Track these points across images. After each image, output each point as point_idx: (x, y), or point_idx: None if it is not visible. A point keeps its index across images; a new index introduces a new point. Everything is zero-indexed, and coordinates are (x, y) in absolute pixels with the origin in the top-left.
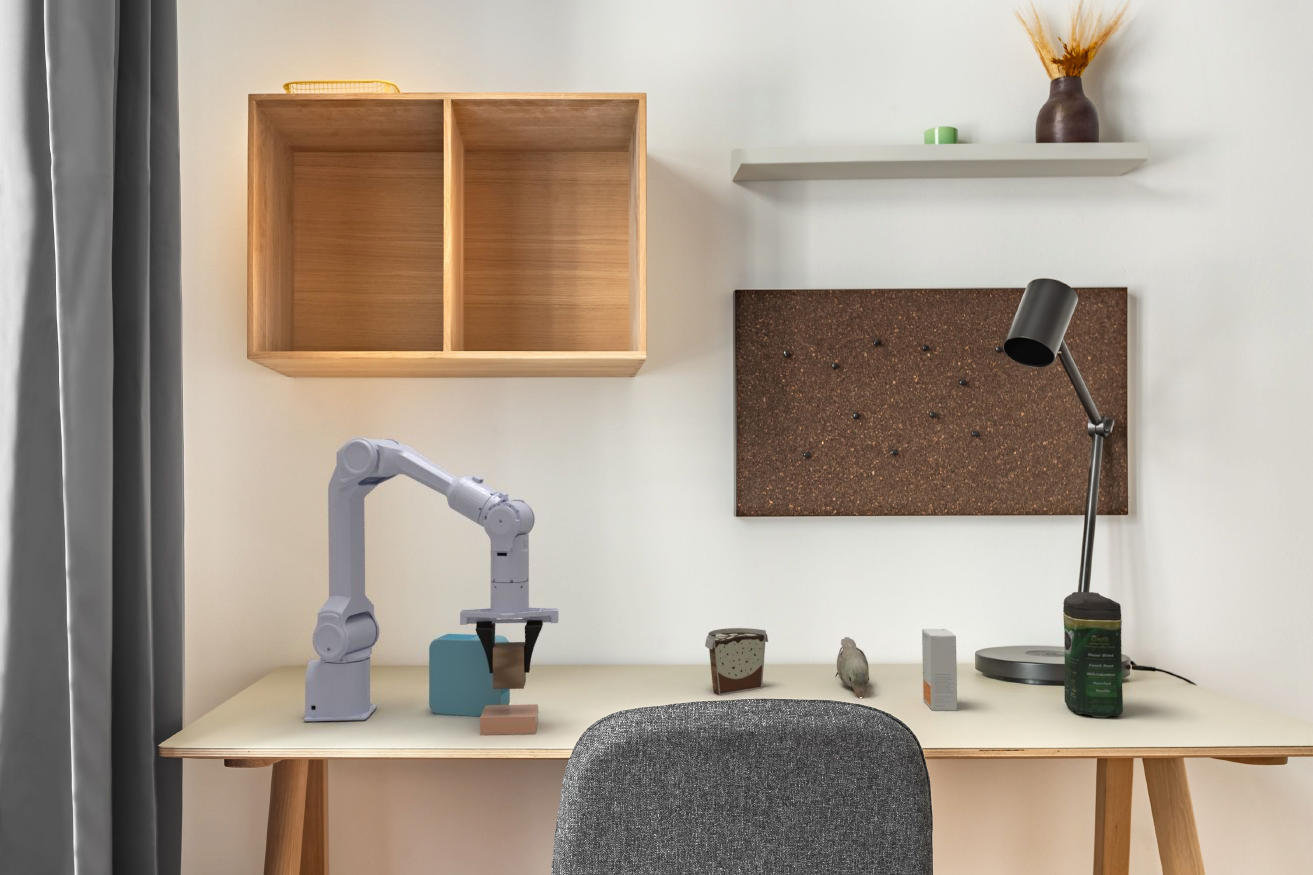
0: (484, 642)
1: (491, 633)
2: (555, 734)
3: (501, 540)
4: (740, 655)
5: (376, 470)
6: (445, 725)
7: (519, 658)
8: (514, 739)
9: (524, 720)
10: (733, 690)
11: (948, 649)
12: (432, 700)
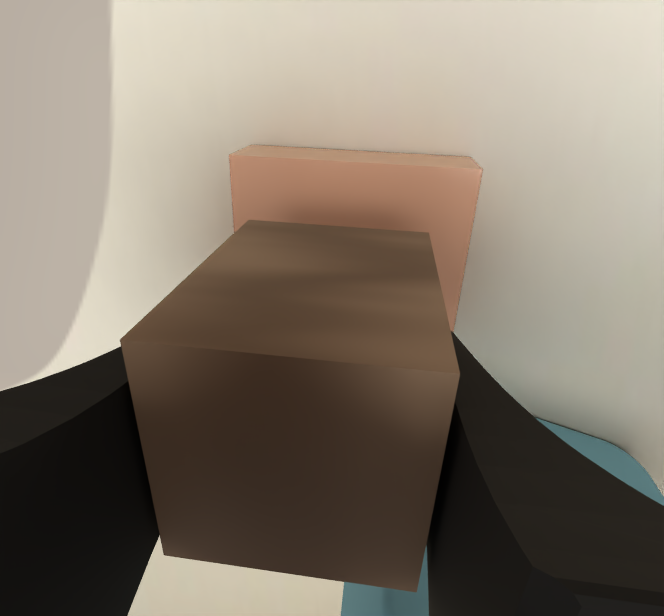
0: (574, 470)
1: (517, 531)
2: (173, 124)
3: None
4: None
5: None
6: (595, 311)
7: (206, 292)
8: (328, 70)
9: (280, 154)
10: None
11: None
12: (644, 482)
